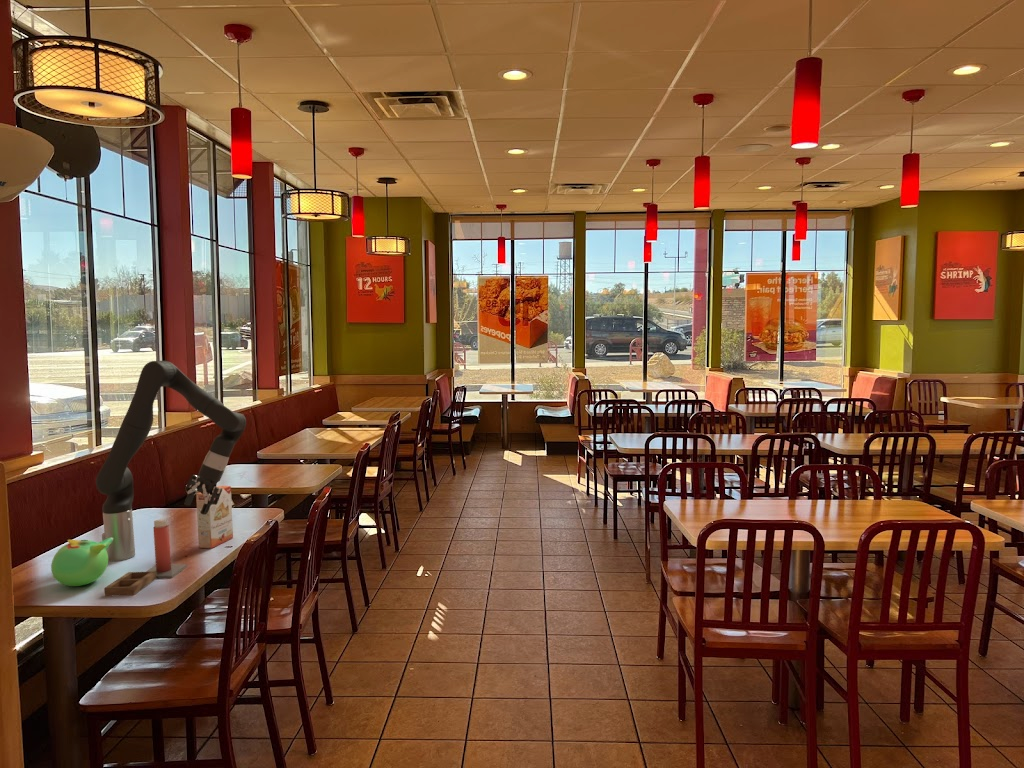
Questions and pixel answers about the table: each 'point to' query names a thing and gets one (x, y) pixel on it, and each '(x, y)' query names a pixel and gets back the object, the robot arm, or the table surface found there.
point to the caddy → (130, 583)
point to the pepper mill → (162, 545)
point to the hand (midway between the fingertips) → (195, 509)
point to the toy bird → (80, 562)
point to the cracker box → (215, 520)
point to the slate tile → (169, 574)
